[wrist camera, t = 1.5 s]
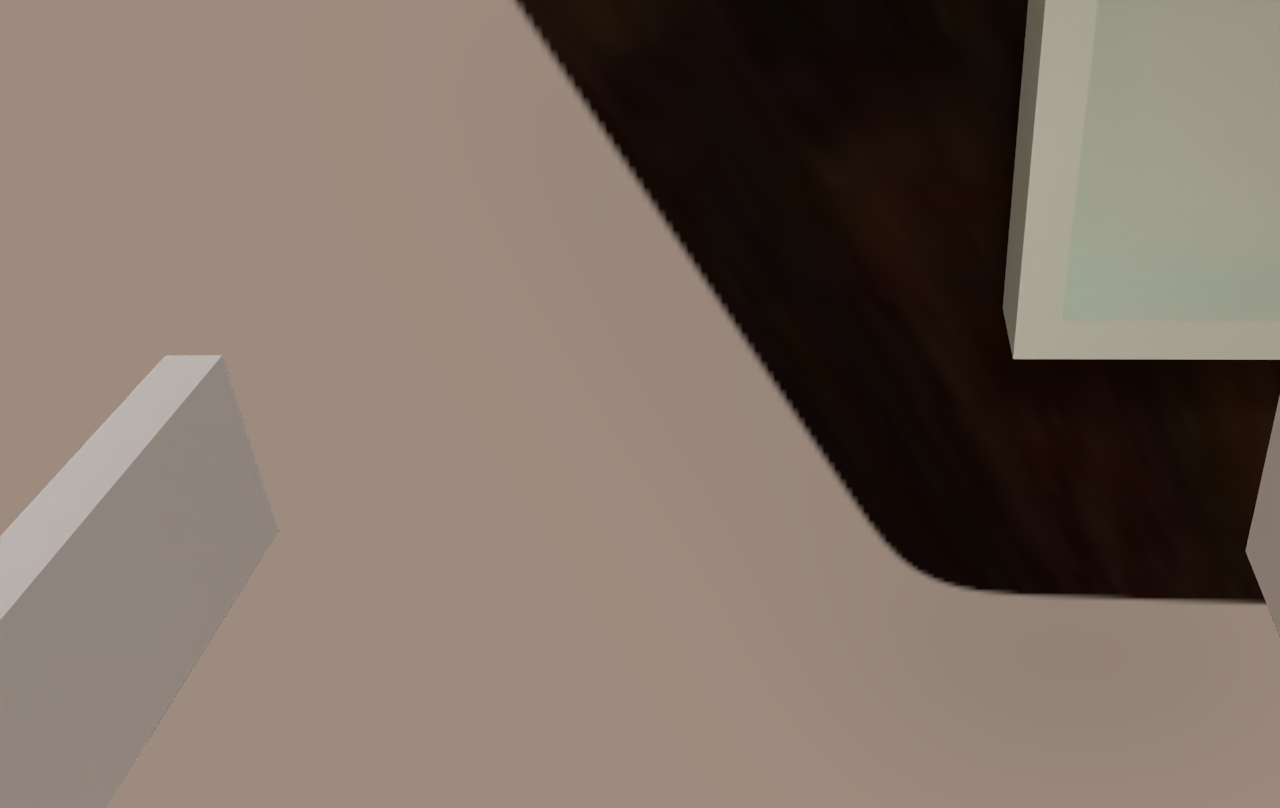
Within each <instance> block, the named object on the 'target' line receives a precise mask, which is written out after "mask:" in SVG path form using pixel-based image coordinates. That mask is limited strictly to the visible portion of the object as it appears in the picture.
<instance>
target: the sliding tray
mask: <svg viewBox="0 0 1280 808" xmlns="http://www.w3.org/2000/svg"><path fill="white" fill-rule="evenodd" d="M1003 312H1004V317H1005V322H1006V327H1007V332H1008V337H1009V342H1010V347H1011V352H1012V356H1013V359H1187V360H1280V0H1028V9H1027V21H1026V33H1025V45H1024V57H1023V69H1022V81H1021V93H1020V105H1019V117H1018V129H1017V141H1016V153H1015V165H1014V177H1013V189H1012V201H1011V213H1010V225H1009V237H1008V249H1007V261H1006V273H1005V285H1004V298H1003Z"/></svg>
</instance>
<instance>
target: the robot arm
mask: <svg viewBox="0 0 1280 808" xmlns="http://www.w3.org/2000/svg"><path fill="white" fill-rule="evenodd" d="M278 531H279V530H278V527H277V524H276V521H275V518H274V515H273V511H272V509H271V505H270V502H269V499H268V496H267V493H266V490H265V487H264V484H263V480H262V477H261V474H260V471H259V468H258V465H257V462H256V459H255V456H254V452H253V449H252V446H251V443H250V440H249V437H248V434H247V431H246V427H245V424H244V421H243V418H242V415H241V412H240V409H239V406H238V403H237V399H236V396H235V393H234V390H233V387H232V384H231V381H230V378H229V375H228V371H227V368H226V366H225V362H224V359H223V356H222V355H185V356H184V355H175V356H174V355H172V356H164V358H163V359H162V360H161V361H160V362H159V363H158V364H157V365H156V366H155V367H154V368H153V370H152V371H151V372H150V373H149V374H148V375H147V376H146V377H145V378H144V380H143V381H142V382H141V383H140V384H139V385H138V386H137V387H136V388H135V389H134V390H133V391H132V393H131V394H130V395H129V396H128V397H127V398H126V399H125V400H124V401H123V402H122V404H121V405H120V406H119V407H118V408H117V409H116V410H115V411H114V413H113V414H112V415H111V416H110V417H109V418H108V419H107V420H106V421H105V422H104V423H103V424H102V425H101V427H100V428H99V429H98V430H97V431H96V432H95V433H94V434H93V435H92V436H91V438H90V439H89V440H88V441H87V442H86V443H85V444H84V445H83V446H82V447H81V449H80V450H79V451H78V452H77V453H76V454H75V455H74V456H73V457H72V458H71V459H70V461H69V462H68V463H67V464H66V465H65V466H64V467H63V468H62V469H61V470H60V471H59V473H58V474H57V475H56V476H55V477H54V478H53V479H52V480H51V481H50V482H49V484H48V485H47V486H46V487H45V488H44V489H43V490H42V491H41V492H40V493H39V494H38V496H37V497H36V498H35V499H34V500H33V501H32V502H31V503H30V504H29V505H28V506H27V508H26V509H25V510H24V511H23V512H22V513H21V514H20V515H19V516H18V517H17V519H16V520H15V521H14V522H13V523H12V524H11V525H10V526H9V527H8V529H6V531H5V532H4V533H3V534H2V535H1V536H0V808H107V806H108V804H109V803H110V801H111V800H112V798H113V796H114V795H115V793H116V792H117V790H118V788H119V787H120V785H121V784H122V782H123V780H124V779H125V777H126V775H127V774H128V772H129V771H130V769H131V767H132V766H133V764H134V763H135V761H136V759H137V758H138V756H139V754H140V753H141V751H142V750H143V748H144V747H145V745H146V743H147V742H148V740H149V738H150V737H151V735H152V734H153V732H154V730H155V729H156V727H157V725H158V724H159V722H160V721H161V719H162V717H163V716H164V714H165V713H166V711H167V710H168V708H169V706H170V705H171V703H172V701H173V700H174V698H175V697H176V695H177V693H178V692H179V690H180V689H181V687H182V685H183V684H184V682H185V681H186V679H187V677H188V676H189V674H190V672H191V671H192V669H193V668H194V666H195V664H196V663H197V661H198V660H199V658H200V656H201V655H202V653H203V652H204V650H205V648H206V647H207V645H208V644H209V642H210V640H211V639H212V637H213V635H214V634H215V632H216V630H217V629H218V627H219V626H220V624H221V623H222V621H223V619H224V618H225V616H226V615H227V613H228V611H229V610H230V608H231V607H232V605H233V603H234V602H235V600H236V598H237V597H238V595H239V594H240V592H241V590H242V589H243V587H244V585H245V584H246V582H247V581H248V579H249V578H250V576H251V574H252V573H253V571H254V569H255V568H256V566H257V565H258V563H259V561H260V560H261V558H262V557H263V555H264V553H265V552H266V550H267V549H268V547H269V545H270V544H271V542H272V541H273V539H274V537H275V536H276V534H277V532H278ZM1246 554H1247V556H1248V558H1249V561H1250V563H1251V566H1252V568H1253V571H1254V573H1255V576H1256V578H1257V581H1258V583H1259V586H1260V588H1261V591H1262V593H1263V596H1264V598H1265V601H1266V603H1267V606H1268V608H1269V611H1270V613H1271V616H1272V618H1273V621H1274V623H1275V626H1276V628H1277V631H1278V633H1279V636H1280V396H1279V401H1278V405H1277V410H1276V414H1275V419H1274V424H1273V428H1272V433H1271V437H1270V442H1269V446H1268V451H1267V455H1266V460H1265V465H1264V469H1263V474H1262V478H1261V483H1260V487H1259V492H1258V497H1257V501H1256V506H1255V510H1254V515H1253V519H1252V524H1251V528H1250V533H1249V538H1248V542H1247V547H1246Z"/></svg>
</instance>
